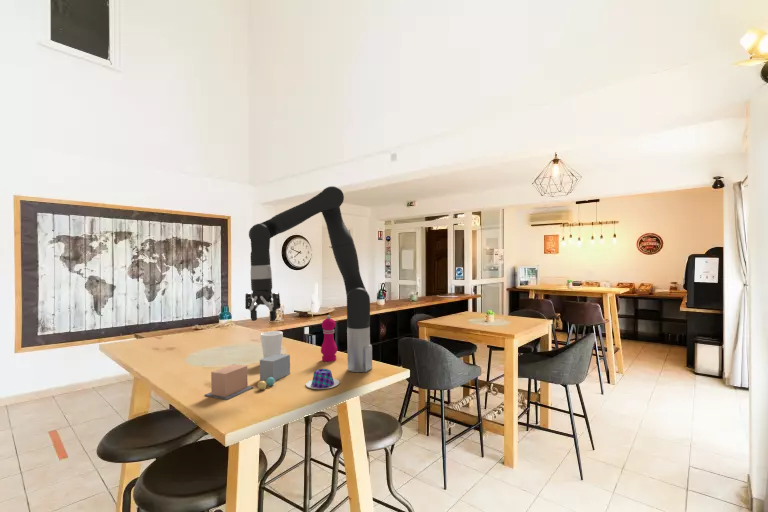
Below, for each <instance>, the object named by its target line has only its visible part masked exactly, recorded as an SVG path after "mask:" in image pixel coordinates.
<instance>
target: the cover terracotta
mask: <svg viewBox="0 0 768 512" xmlns="http://www.w3.org/2000/svg"><path fill="white" fill-rule="evenodd" d="M210 379H211V380H210V381H211V383H210V384H211V387H210V389H211V391H210V392H211V394H212V395H217V396H223V397H226V396H229V395H231V394H233V393H235V392H238V391H240V390H242V389H244V388H247V387H248V386H249V385H248V365H245V364H244V365H242V364H238V363H237V364H236V363H233V364H230V365H228V366H224V367H222V368H219V369H216V370H213V371H211V374H210Z"/></svg>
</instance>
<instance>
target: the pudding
mask: <svg viewBox="0 0 768 512" xmlns="http://www.w3.org/2000/svg"><path fill="white" fill-rule="evenodd" d="M339 384H340V380H338V379H336V378H334V377H333V375H332V370H331V369H328V368H320V369H319V368H318V369H317V370H315V371H314V373H313V376H312V379H311V380H308V381H306V383H305V386H306V387H307V388H309V389H314V390H326V389H331V388H334V387H336V386H338V385H339ZM311 386H312V387H311Z"/></svg>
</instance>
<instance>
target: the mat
mask: <svg viewBox="0 0 768 512" xmlns="http://www.w3.org/2000/svg"><path fill="white" fill-rule="evenodd" d="M253 389H254V386H251V385H248V387H247V388H244V389H242V390H240V391H238V392H235V393H233V394H231V395H229V396H226V397H223V396H217V395H212V394H211V391H210V392H208V393H205V394H204V397H209V398H214V399H221V400H225V401H229V400H230V399H232V398H235V397H237V396H239V395H241V394H243V393H245V392H248V391H250V390H253Z"/></svg>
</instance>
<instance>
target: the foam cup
mask: <svg viewBox="0 0 768 512" xmlns="http://www.w3.org/2000/svg"><path fill="white" fill-rule="evenodd" d="M283 333H284V332H283V331H279V330H278V331H277V330H274V331H273V330H272V331H265V332H264V331H263V332H261V333H260V336H259V337H260V342H261V348H262V349H261V350H262V355H263V359H264V358H266V357H269V356H272V355H274V354H282V353H281V352H282V344H283V338H284V335H283Z"/></svg>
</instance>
